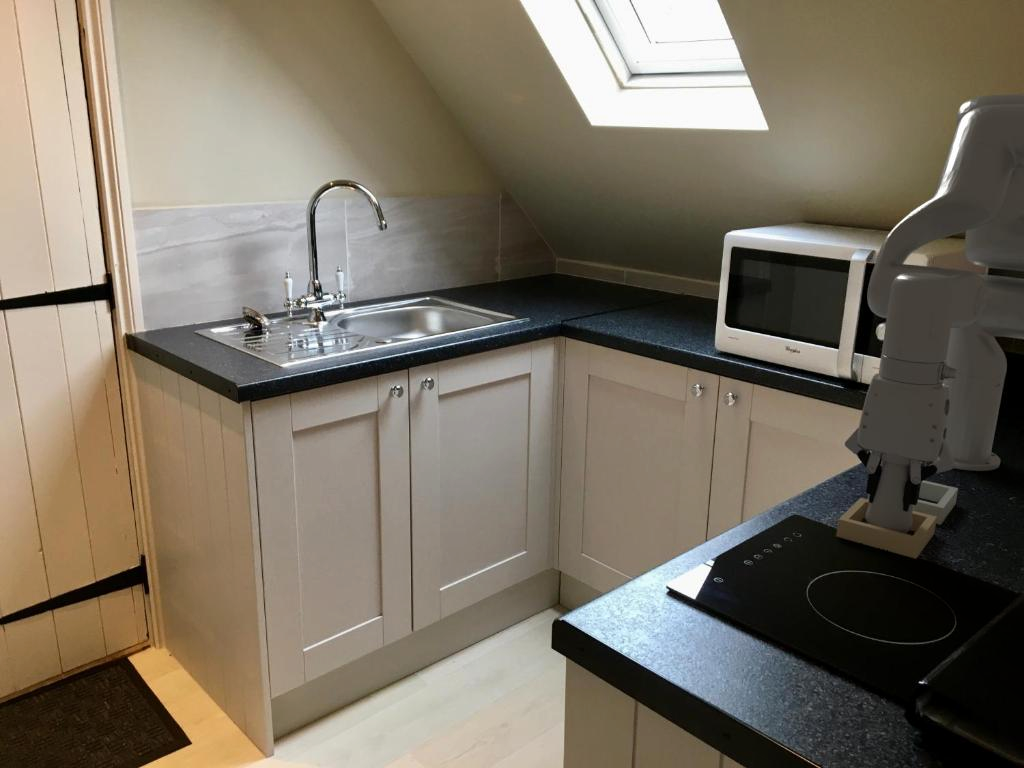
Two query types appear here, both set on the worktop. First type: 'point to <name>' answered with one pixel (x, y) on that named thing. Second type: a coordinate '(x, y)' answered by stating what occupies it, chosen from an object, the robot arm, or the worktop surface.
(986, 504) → the worktop surface
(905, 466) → the salt shaker
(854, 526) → the sockets
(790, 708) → the worktop surface
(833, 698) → the worktop surface
